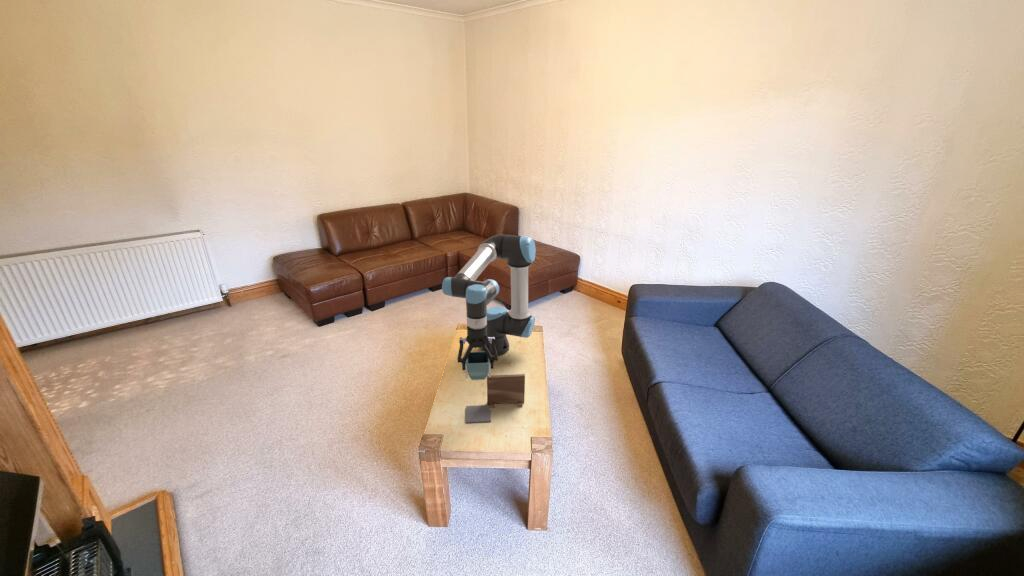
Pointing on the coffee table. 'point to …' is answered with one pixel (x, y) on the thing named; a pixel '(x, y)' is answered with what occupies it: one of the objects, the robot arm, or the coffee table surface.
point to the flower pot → (477, 365)
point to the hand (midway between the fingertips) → (478, 375)
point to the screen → (505, 389)
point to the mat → (478, 414)
